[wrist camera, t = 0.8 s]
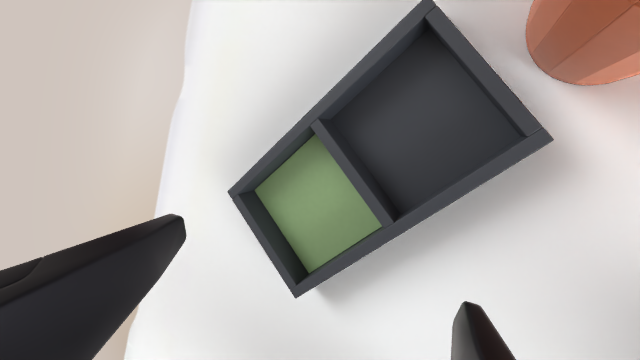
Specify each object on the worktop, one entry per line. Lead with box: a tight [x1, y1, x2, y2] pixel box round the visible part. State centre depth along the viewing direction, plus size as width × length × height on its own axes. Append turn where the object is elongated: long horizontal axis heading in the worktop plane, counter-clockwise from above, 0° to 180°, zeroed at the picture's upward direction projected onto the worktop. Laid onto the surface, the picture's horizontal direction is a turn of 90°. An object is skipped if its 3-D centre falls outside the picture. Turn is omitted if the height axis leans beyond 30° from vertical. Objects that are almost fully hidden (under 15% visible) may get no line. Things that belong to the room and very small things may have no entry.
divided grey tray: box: [228, 0, 554, 298], centre depth 21 cm, size 10×19×2 cm, turn 129°
